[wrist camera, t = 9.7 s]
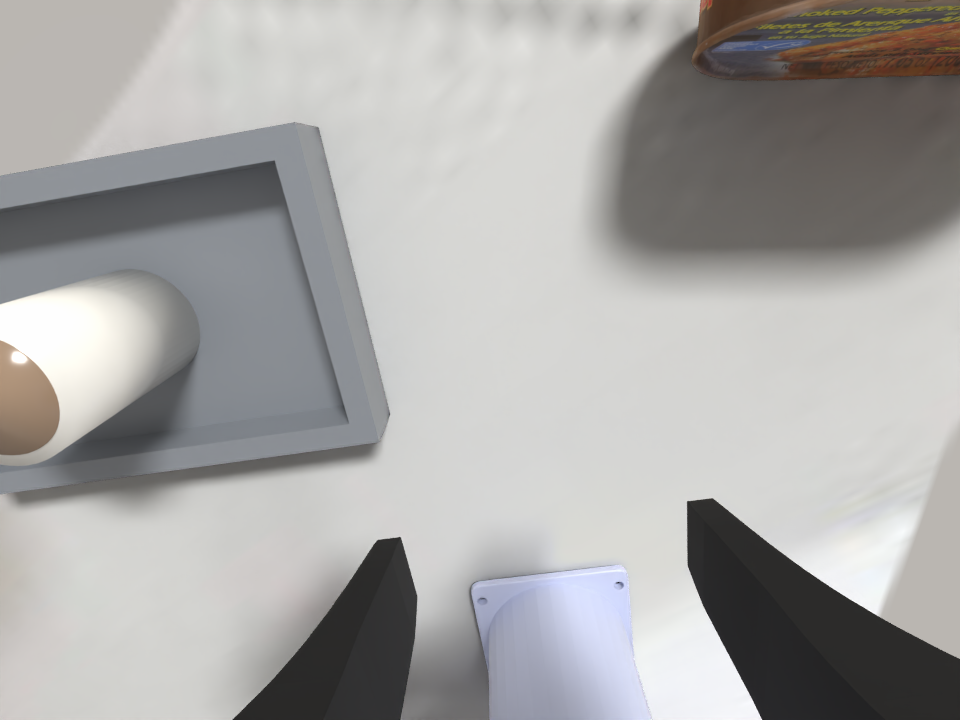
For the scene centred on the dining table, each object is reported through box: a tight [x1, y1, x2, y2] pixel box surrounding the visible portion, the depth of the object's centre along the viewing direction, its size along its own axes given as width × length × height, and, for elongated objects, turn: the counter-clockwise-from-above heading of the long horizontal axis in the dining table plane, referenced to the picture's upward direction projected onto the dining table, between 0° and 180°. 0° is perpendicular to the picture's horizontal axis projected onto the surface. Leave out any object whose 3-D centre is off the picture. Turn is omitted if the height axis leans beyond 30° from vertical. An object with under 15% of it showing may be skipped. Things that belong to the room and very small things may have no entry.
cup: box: [0, 269, 200, 466], centre depth 18 cm, size 5×5×7 cm
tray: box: [0, 122, 390, 494], centre depth 20 cm, size 12×18×2 cm, turn 99°
